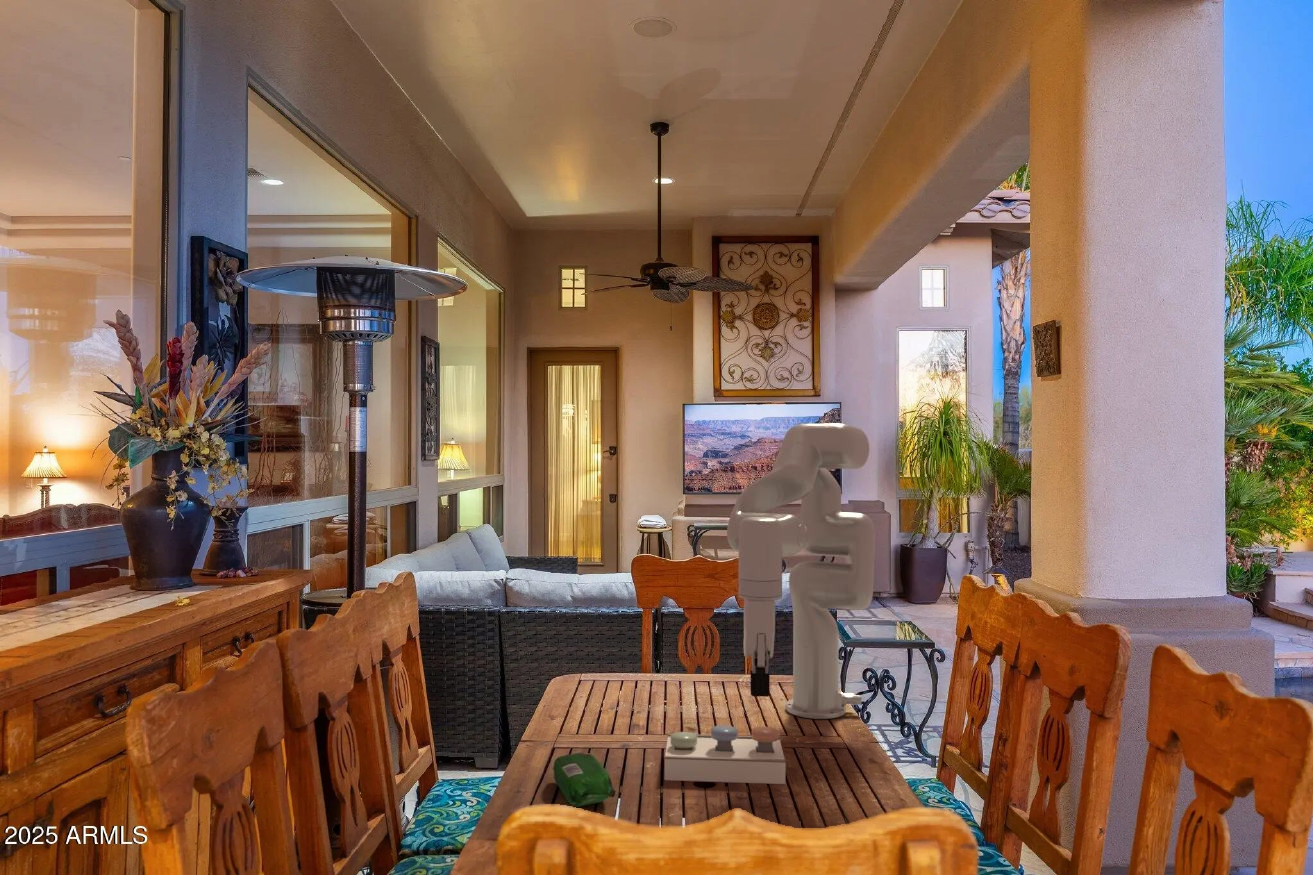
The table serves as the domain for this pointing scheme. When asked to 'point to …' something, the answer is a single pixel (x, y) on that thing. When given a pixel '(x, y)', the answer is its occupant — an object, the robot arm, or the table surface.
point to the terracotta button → (765, 738)
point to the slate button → (724, 736)
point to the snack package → (582, 779)
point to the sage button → (683, 740)
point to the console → (725, 762)
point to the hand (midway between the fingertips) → (759, 694)
